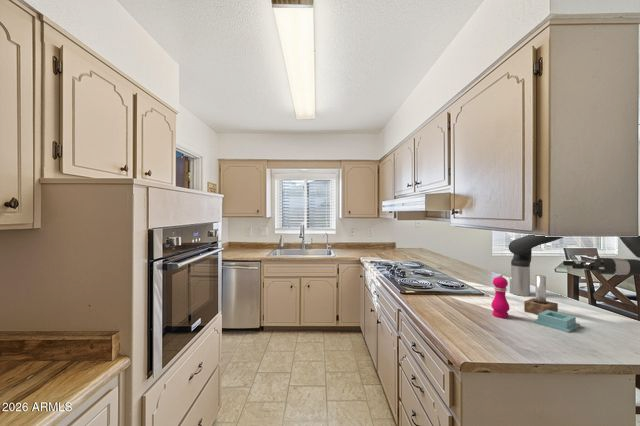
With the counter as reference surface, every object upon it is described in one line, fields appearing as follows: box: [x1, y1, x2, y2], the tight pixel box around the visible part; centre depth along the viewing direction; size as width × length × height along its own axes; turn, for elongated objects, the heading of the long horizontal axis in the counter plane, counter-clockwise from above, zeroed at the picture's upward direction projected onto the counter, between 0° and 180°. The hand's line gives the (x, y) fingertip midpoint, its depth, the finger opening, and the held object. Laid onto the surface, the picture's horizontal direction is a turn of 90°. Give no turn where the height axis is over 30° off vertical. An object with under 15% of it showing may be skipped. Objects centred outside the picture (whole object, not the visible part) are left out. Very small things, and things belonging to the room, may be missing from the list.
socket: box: [533, 310, 581, 333], centre depth 120 cm, size 12×12×4 cm
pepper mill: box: [491, 273, 511, 319], centre depth 130 cm, size 7×7×20 cm
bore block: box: [523, 297, 559, 316], centre depth 135 cm, size 10×10×5 cm
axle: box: [535, 274, 547, 305], centre depth 135 cm, size 4×4×18 cm
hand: (567, 264), depth 131 cm, fingers open, 8 cm apart
